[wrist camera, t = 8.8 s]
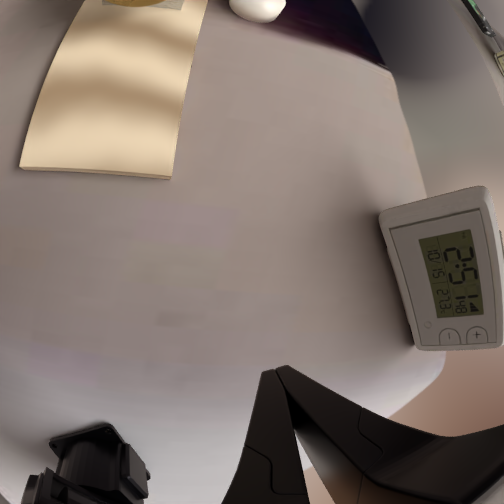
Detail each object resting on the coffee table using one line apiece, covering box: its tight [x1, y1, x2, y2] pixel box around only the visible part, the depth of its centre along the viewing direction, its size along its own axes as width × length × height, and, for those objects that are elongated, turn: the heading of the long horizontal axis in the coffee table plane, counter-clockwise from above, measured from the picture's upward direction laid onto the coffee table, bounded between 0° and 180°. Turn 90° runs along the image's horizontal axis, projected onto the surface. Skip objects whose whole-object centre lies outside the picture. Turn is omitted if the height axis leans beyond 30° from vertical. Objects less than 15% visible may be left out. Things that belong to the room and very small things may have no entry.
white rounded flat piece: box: [229, 0, 286, 23], centre depth 20 cm, size 5×5×2 cm
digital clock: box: [379, 186, 504, 351], centre depth 22 cm, size 16×9×11 cm, turn 16°
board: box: [19, 0, 208, 180], centre depth 17 cm, size 23×11×1 cm, turn 176°
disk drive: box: [462, 0, 496, 37], centre depth 44 cm, size 10×3×15 cm
